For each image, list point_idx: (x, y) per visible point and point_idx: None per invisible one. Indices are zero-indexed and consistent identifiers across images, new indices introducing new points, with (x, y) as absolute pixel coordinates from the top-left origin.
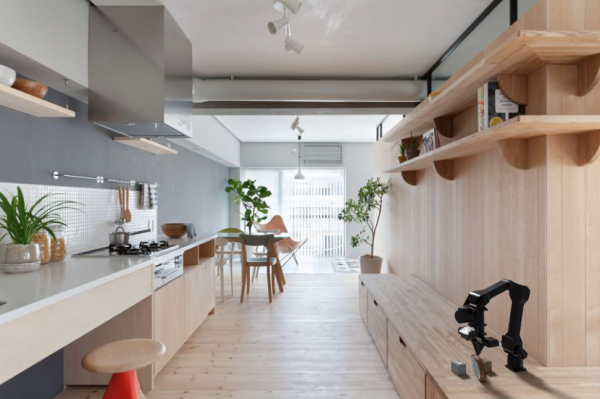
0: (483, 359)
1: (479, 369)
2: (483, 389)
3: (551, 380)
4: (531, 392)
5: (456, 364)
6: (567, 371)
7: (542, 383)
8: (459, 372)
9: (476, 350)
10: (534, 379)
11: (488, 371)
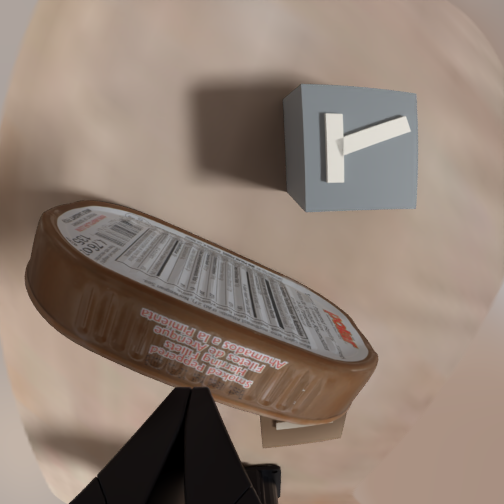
0: None
1: (43, 217)
2: (32, 156)
3: None
4: (16, 384)
5: (329, 85)
6: None
7: (97, 467)
8: (287, 113)
9: (163, 448)
10: None
11: None
